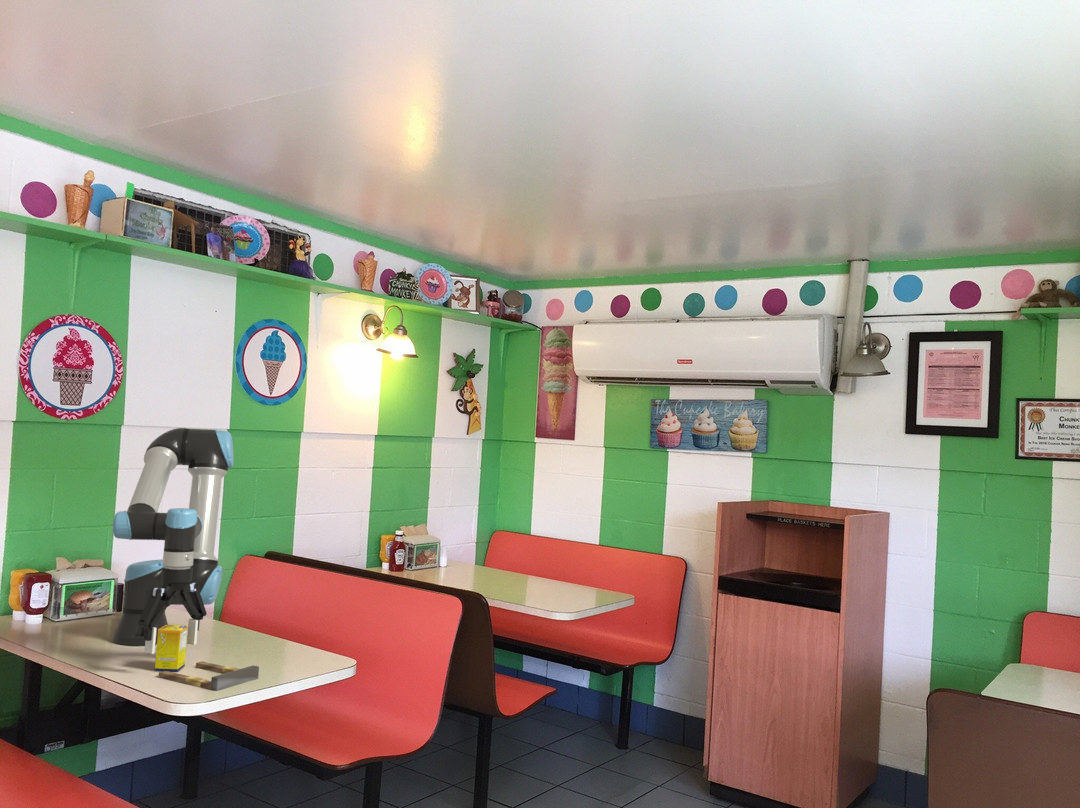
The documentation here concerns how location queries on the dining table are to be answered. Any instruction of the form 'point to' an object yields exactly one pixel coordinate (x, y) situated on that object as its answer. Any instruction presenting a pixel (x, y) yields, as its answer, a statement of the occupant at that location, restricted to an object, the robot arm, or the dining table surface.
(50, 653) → the dining table surface
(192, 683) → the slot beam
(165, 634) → the supplement box
